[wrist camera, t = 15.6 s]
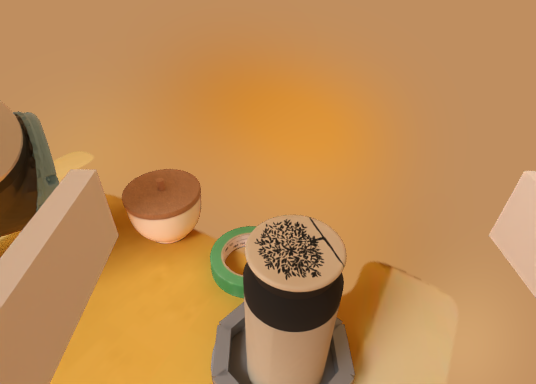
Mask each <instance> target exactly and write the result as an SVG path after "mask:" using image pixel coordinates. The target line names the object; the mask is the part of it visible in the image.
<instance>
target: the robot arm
mask: <svg viewBox="0 0 536 384" xmlns="http://www.w3.org/2000/svg"><path fill="white" fill-rule="evenodd" d="M21 230H22V231H21ZM18 231H21V232H20V234H19V235H18V236H17V237H16V239H15V240H14V241H13V242H12V244H11V245H10V246H9V247H8V249H7V250H6V251H5V252H4V254H3V255H2V256H1V257H0V384H50V382H51V380H52V377H53V375H54V373H55V371H56V369H57V367H58V365H59V362H60V360H61V358H62V356H63V354H64V352H65V350H66V347H67V345H68V343H69V341H70V339H71V337H72V335H73V332H74V330H75V328H76V326H77V324H78V322H79V320H80V317H81V315H82V313H83V311H84V309H85V307H86V305H87V302H88V300H89V298H90V296H91V294H92V292H93V290H94V287H95V285H96V283H97V281H98V279H99V277H100V275H101V273H102V270H103V268H104V266H105V264H106V262H107V260H108V258H109V255H110V253H111V251H112V249H113V247H114V245H115V243H116V240H117V238H118V236H119V235H118V232H117V229H116V226H115V223H114V220H113V217H112V214H111V211H110V208H109V205H108V203H107V200H106V197H105V194H104V191H103V188H102V185H101V182H100V180H99V176H98V173H97V170H70V171H69V172H68V173H67V175H66V176H65V177H64V178H63V180H62V181H61V182H60V183H59V181H58V178H57V176H56V171H55V166H54V163H53V160H52V156H51V153H50V149H49V146H48V143H47V140H46V137H45V134H44V132H43V128H42V126H41V123H40V121H39V119H38V118H37V116H36V115H34V114H32V113H28V112H27V113H21V112H12V111H11V110H10V109H9V108H8V107H7V106H6V105H5V104H4V103H3V102H1V101H0V237H2V236H5V235H8V234H12V233H15V232H18ZM489 236H490V237H491V239H492V240H493V241H494V243H495V244H496V246H497V247H498V248H499V250H500V251H501V252H502V254H503V255H504V256H505V258H506V259H507V260H508V262H509V263H510V264H511V266H512V267H513V268H514V270H515V271H516V272H517V274H518V275H519V276H520V278H521V279H522V280H523V282H524V283H525V284H526V286H527V287H528V288H529V290H530V291H531V292H532V294H533V295H534V296H535V298H536V171H524V173H523V175H522V176H521V178H520V180H519V182H518V184H517V185H516V187H515V189H514V191H513V193H512V195H511V196H510V198H509V200H508V202H507V203H506V205H505V207H504V209H503V211H502V213H501V214H500V216H499V218H498V220H497V222H496V223H495V225H494V227H493V229H492V231H491V232H490V234H489Z"/></svg>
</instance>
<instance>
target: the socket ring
mask: <svg viewBox="0 0 536 384" xmlns="http://www.w3.org/2000/svg"><path fill="white" fill-rule="evenodd" d="M211 371H212V380H213V384H252V383H251V381H250V379H249V376H248V370H247V352H246V330H245V309H244V302H243V303H242V304H241V305H240V306H238V307H237V308H236V309H235V310H234V311H232V312H231V313H230V314H229V315H227V316H226V317H225V318H224V319H223V320H221V321H220V322H219V325H218V326H217V335H216V343H215V346H214V349H213V354H212V363H211ZM354 376H355V372H354V368H353V363H352V358H351V353H350V349H349V344H348V339H347V334H346V330H345V325H344V324H342V321H341V320H340V319H338V318H337V317H336V321H335V326H334V330H333V334H332V338H331V343H330V347H329V351H328V356H327V360H326V364H325V368H324V373H323V377H322V381H321V383H320V384H352V383H353V380H354Z"/></svg>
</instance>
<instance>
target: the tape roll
mask: <svg viewBox="0 0 536 384" xmlns="http://www.w3.org/2000/svg"><path fill="white" fill-rule="evenodd" d="M255 228H256V226H247V227H240V228H237V229H234V230H231V231H229V232H227V233H225V234H224V235H222V236H221V237H220V238H219V239H218V240H217V241H216V242H215V244H214V246H213V248H212V250H211V255H210V261H211V270H212V275H213V278H214V280H215V282H216V283H217V285H218V286H219V287H220V288H221V289H222V290H224V291H225V292H227V293H229V294H231V295H233V296H236V297H240V298H244V288H243V275H240V274H237V273H235V272H233V271H232V270H230V269H229V267H228V266H227V265H226V264H225V260H226V258H227V256H228V255H229V254H230V253H231V252H232V251H233V250H235V249H236V250H237V249H240V248H242V247H245V246H246V242H247V239H248V237H249V235H250V234H251V232H252V231H253V230H254V229H255Z"/></svg>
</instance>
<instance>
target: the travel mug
mask: <svg viewBox="0 0 536 384" xmlns="http://www.w3.org/2000/svg"><path fill="white" fill-rule="evenodd" d="M245 256H246V260H247V263H246V265H245V268H244V272H243V288H244V309H245V330H246V352H247V370H248V376H249V379H250V381H251V383H252V384H320V383H321V381H322V377H323V373H324V368H325V364H326V360H327V356H328V351H329V347H330V343H331V338H332V334H333V330H334V326H335V321H336V317H337V313H338V309H339V304H340V300H341V296H342V291H343V284H344V281H343V275H342V271H343V269H344V267H345V263H346V249H345V245H344V243H343V241H342V239H341V238H340V236H339V235H338V234H337V233H336V232H335V231H334V230H333V229H332V228H331V227H329V226H328V225H327V224H325V223H323V222H321V221H319V220H317V219H314V218H311V217H307V216H301V215H283V216H278V217H274V218H271V219H268V220H266V221H264V222H263V223H261V224H260V225H258V226H257V227H256V228H255V229H254V230H253V231H252V232H251V234H250V235H249V237H248V239H247V242H246V246H245Z"/></svg>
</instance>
